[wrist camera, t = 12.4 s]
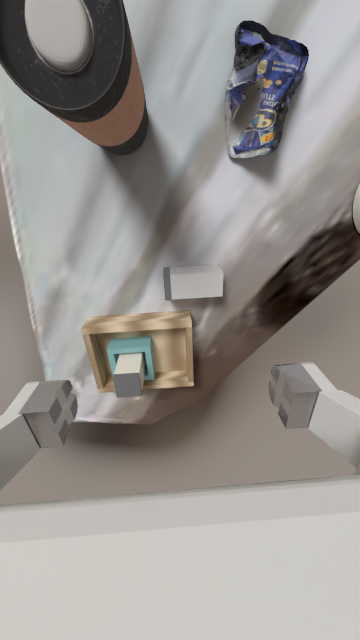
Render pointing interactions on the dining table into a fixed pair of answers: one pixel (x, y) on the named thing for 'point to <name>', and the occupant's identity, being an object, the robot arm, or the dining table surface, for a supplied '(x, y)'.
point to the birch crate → (167, 342)
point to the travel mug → (77, 66)
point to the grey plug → (193, 282)
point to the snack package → (279, 85)
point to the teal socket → (132, 346)
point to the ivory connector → (129, 374)
